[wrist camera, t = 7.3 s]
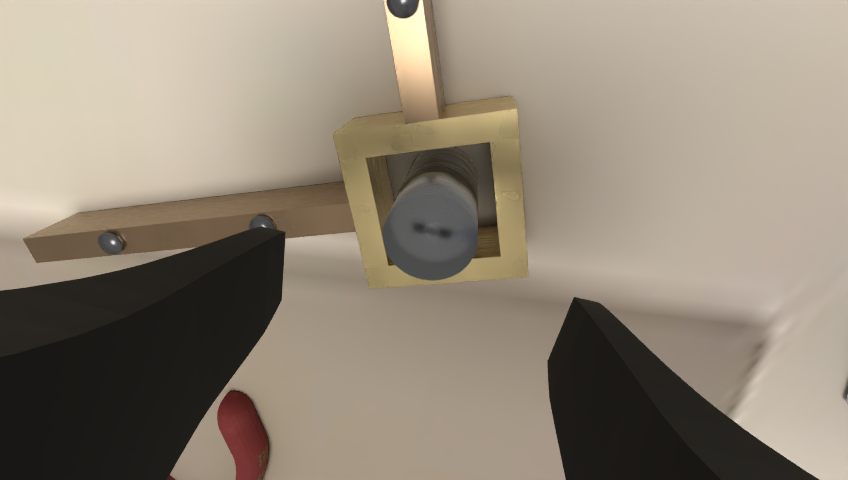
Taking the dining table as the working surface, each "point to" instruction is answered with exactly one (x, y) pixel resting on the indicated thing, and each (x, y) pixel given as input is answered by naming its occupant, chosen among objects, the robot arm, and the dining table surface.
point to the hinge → (341, 201)
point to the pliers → (243, 436)
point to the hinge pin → (435, 216)
